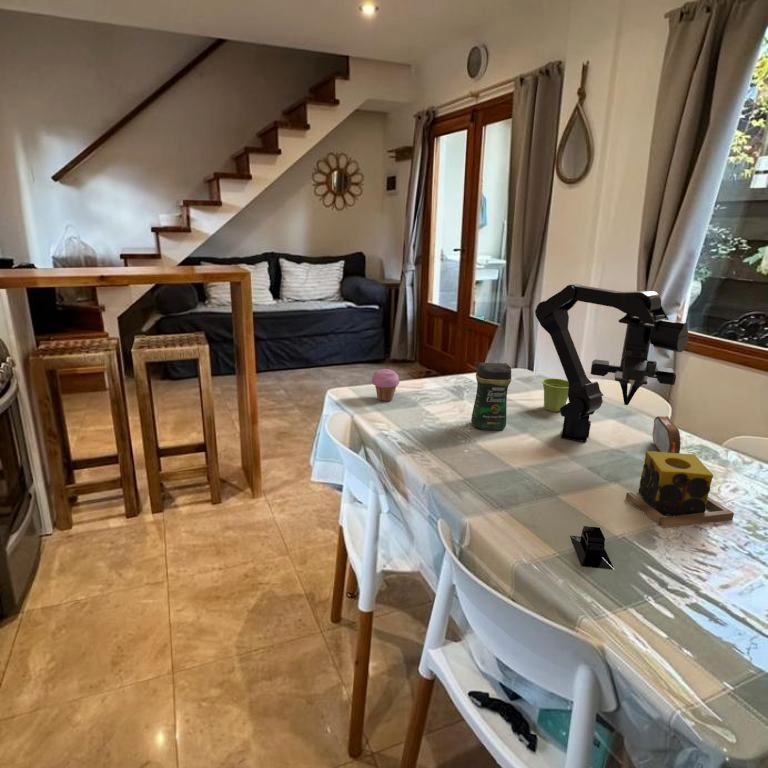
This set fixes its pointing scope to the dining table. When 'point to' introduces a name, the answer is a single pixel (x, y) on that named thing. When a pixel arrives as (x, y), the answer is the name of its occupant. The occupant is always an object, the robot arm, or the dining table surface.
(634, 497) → the brown flat tray
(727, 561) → the dining table surface
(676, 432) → the tin
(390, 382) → the cupcake
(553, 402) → the plant pot
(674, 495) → the yellow holed cube
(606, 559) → the black block on plate
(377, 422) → the dining table surface
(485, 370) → the coffee jar
